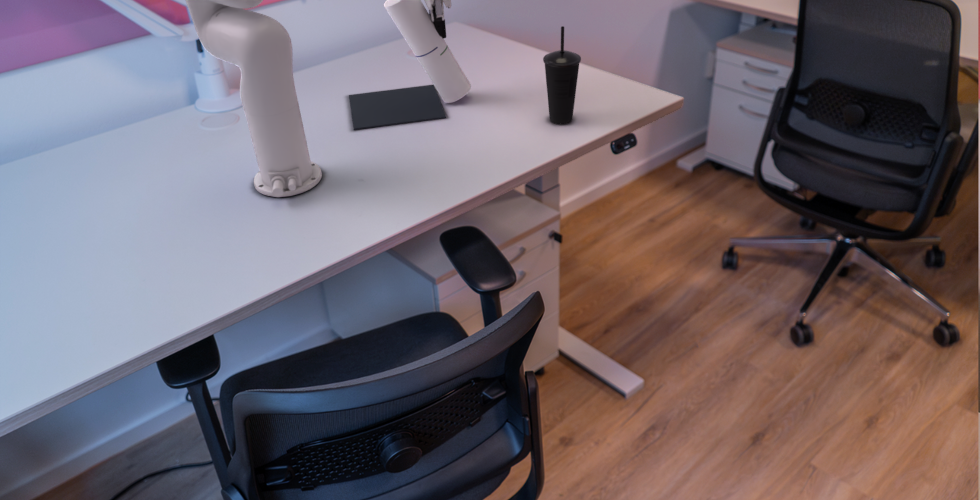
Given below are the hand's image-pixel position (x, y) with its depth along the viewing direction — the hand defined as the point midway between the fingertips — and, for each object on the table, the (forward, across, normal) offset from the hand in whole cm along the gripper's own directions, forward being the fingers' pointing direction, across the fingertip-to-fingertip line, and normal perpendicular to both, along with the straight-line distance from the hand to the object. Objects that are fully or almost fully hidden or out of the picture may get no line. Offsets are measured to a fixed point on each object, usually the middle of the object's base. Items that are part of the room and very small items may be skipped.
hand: (438, 37), depth 157 cm
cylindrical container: (+13, 0, -3) cm, 14 cm away
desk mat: (+14, 0, +11) cm, 18 cm away
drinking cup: (+15, -17, -22) cm, 32 cm away
